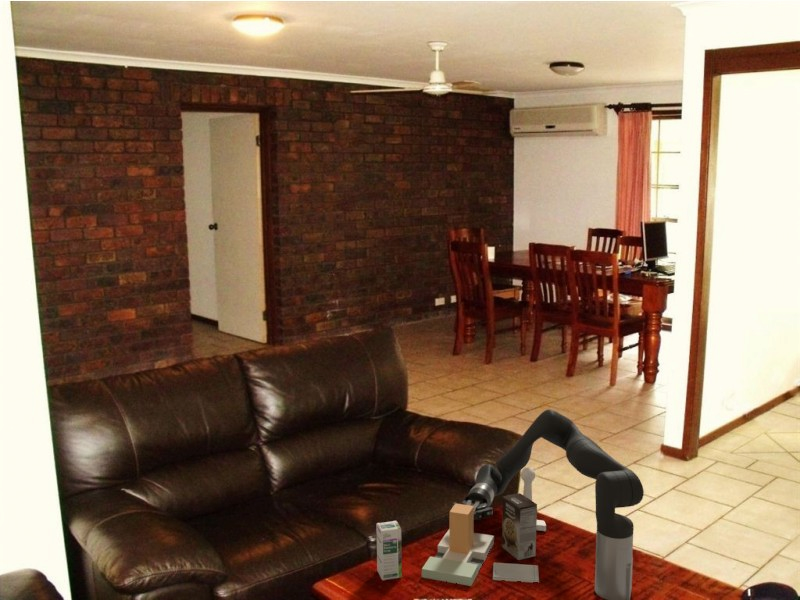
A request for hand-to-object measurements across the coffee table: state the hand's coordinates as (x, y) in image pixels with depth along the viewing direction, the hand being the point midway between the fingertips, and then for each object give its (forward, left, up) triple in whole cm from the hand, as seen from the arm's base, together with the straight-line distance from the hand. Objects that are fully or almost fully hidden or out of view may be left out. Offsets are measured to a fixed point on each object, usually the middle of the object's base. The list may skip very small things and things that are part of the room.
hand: (464, 521), depth 227 cm
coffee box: (-15, -5, -10) cm, 19 cm away
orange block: (0, +3, -7) cm, 8 cm away
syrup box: (+16, +20, -10) cm, 27 cm away
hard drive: (-17, +8, -10) cm, 21 cm away
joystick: (-15, -19, -10) cm, 26 cm away
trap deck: (0, +5, -9) cm, 11 cm away
